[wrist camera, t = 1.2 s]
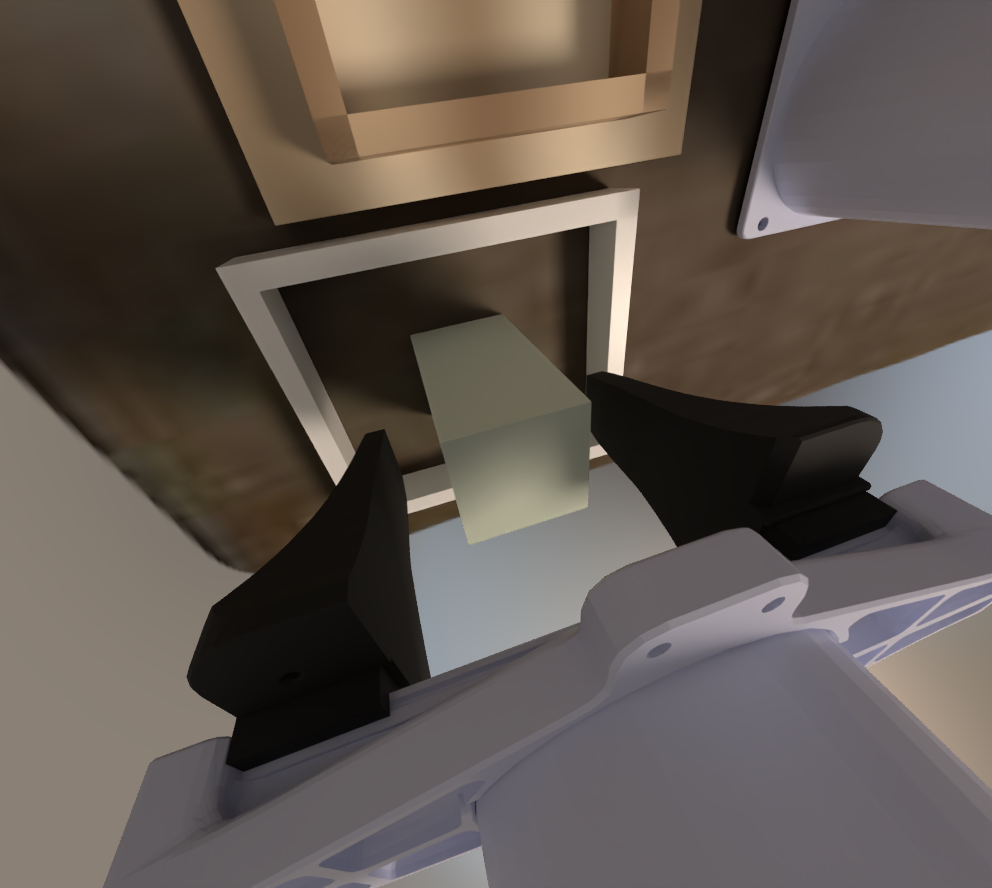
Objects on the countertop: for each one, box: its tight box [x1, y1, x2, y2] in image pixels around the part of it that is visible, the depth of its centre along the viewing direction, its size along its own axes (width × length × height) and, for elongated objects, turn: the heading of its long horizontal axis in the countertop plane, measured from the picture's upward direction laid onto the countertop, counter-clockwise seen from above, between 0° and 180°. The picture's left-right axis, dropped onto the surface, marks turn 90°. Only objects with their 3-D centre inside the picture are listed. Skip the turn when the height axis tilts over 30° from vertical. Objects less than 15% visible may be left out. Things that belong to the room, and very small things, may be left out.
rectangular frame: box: [215, 188, 640, 514], centre depth 16 cm, size 14×12×2 cm
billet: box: [410, 314, 591, 545], centre depth 13 cm, size 4×4×8 cm
